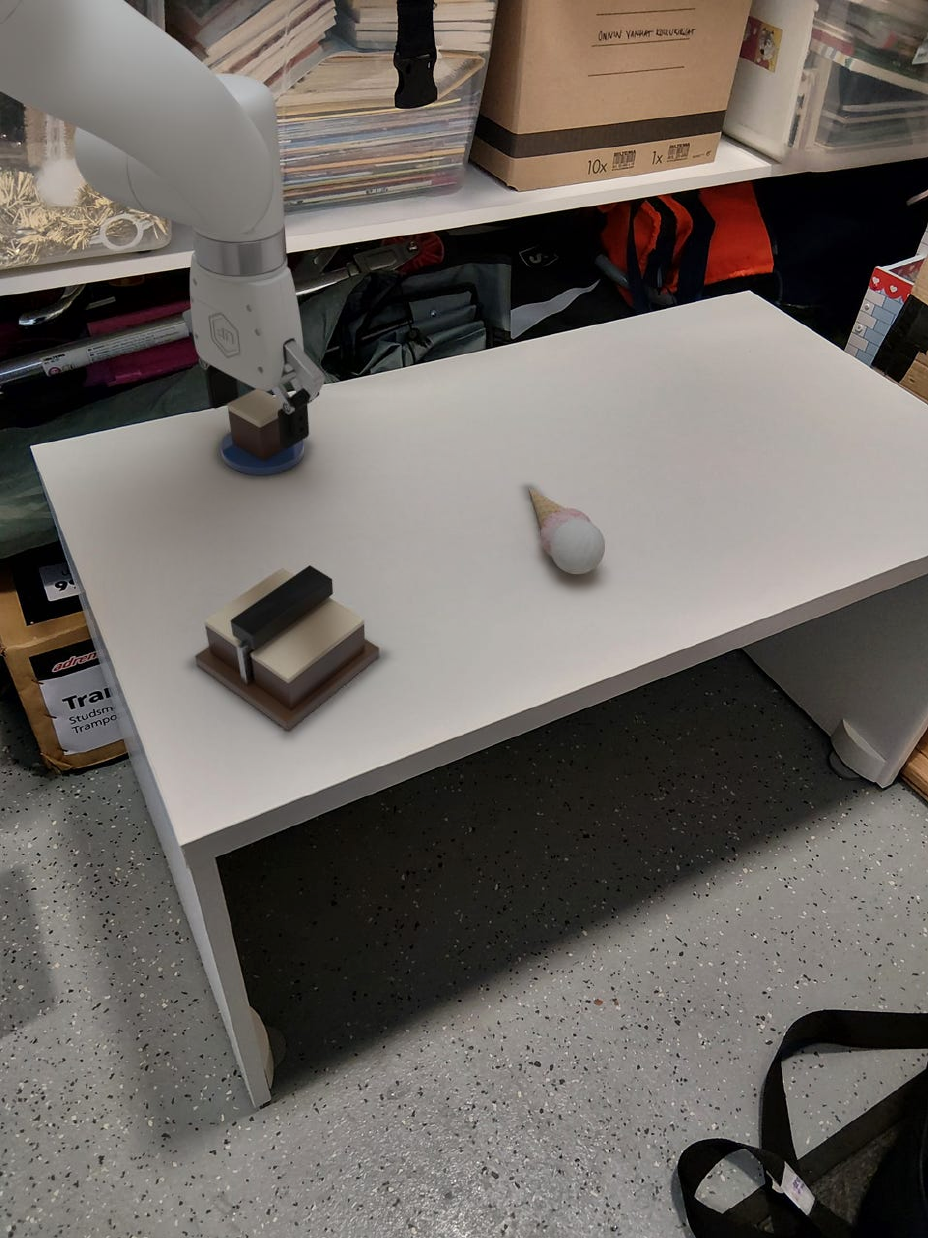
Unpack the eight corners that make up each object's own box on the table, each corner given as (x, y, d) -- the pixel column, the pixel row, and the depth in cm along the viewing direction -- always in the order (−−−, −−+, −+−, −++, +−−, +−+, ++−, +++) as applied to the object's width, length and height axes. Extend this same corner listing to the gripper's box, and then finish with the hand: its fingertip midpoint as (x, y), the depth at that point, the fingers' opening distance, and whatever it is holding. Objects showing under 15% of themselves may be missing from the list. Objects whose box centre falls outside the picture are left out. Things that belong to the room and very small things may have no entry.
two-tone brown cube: (263, 461, 90) (259, 421, 87) (232, 443, 92) (226, 403, 89) (293, 444, 92) (290, 404, 89) (262, 426, 94) (258, 387, 91)
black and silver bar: (255, 692, 69) (247, 640, 65) (233, 676, 70) (224, 623, 66) (339, 627, 75) (337, 575, 71) (317, 613, 76) (314, 561, 72)
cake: (288, 731, 68) (283, 691, 65) (196, 664, 72) (187, 623, 69) (379, 656, 74) (379, 615, 71) (290, 598, 78) (286, 557, 75)
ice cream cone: (497, 502, 91) (552, 575, 79) (519, 458, 89) (578, 527, 77) (537, 516, 93) (596, 590, 81) (559, 474, 91) (623, 543, 79)
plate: (261, 485, 89) (260, 478, 88) (204, 452, 92) (203, 445, 91) (320, 450, 93) (320, 443, 93) (264, 419, 97) (264, 412, 96)
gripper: (136, 227, 79) (168, 403, 91) (280, 294, 72) (294, 475, 84) (205, 203, 84) (227, 374, 96) (347, 265, 77) (351, 441, 89)
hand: (259, 421), depth 90 cm, fingers open, 9 cm apart
